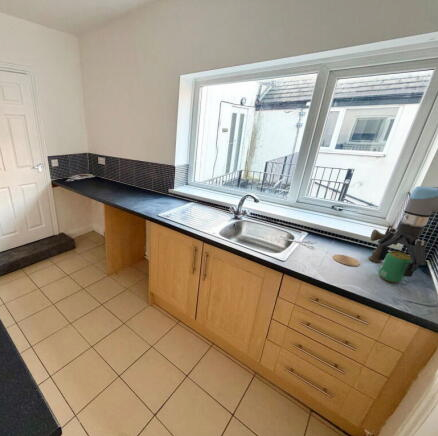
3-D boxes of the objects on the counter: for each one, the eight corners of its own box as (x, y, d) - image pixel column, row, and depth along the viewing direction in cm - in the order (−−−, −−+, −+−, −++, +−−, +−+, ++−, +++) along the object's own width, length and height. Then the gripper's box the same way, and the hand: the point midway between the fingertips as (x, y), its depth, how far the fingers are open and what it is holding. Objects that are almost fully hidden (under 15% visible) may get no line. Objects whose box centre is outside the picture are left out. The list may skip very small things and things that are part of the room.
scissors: (317, 249, 134) (277, 240, 144) (317, 250, 135) (277, 241, 144) (317, 241, 143) (279, 233, 152) (316, 243, 143) (279, 234, 153)
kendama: (361, 255, 130) (375, 221, 122) (385, 260, 125) (401, 225, 118) (363, 260, 125) (378, 225, 118) (388, 266, 121) (405, 230, 113)
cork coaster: (349, 255, 130) (349, 254, 130) (365, 266, 120) (365, 265, 120) (327, 254, 131) (328, 254, 131) (341, 265, 120) (342, 264, 120)
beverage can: (383, 270, 116) (393, 249, 111) (405, 280, 109) (417, 257, 104) (374, 274, 113) (384, 252, 108) (395, 285, 106) (407, 261, 101)
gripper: (378, 213, 113) (363, 253, 121) (433, 235, 90) (410, 283, 97) (395, 214, 113) (378, 254, 120) (455, 236, 90) (430, 284, 97)
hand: (392, 267), depth 109 cm, fingers open, 13 cm apart
